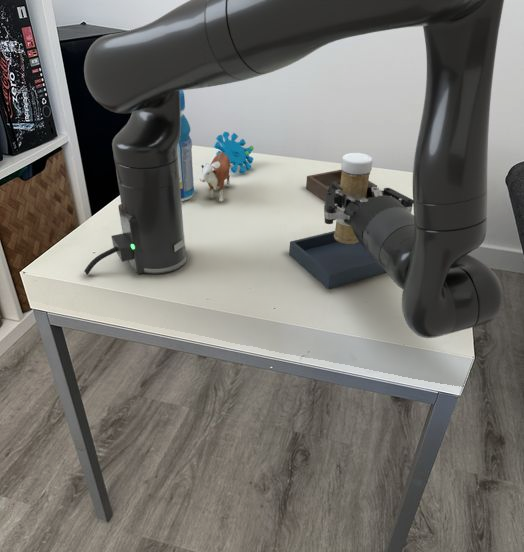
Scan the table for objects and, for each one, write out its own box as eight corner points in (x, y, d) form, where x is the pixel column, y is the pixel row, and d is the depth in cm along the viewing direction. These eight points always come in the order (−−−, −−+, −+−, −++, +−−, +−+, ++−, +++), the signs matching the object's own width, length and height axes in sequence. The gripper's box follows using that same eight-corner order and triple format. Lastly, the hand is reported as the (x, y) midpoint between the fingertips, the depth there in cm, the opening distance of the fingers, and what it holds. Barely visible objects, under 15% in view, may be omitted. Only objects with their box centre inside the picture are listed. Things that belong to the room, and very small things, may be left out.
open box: (333, 207, 106) (334, 194, 104) (305, 188, 113) (306, 175, 111) (375, 198, 110) (377, 185, 108) (346, 180, 117) (347, 168, 115)
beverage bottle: (202, 197, 108) (196, 93, 95) (165, 206, 104) (154, 99, 91) (183, 184, 113) (175, 83, 101) (147, 192, 110) (134, 88, 97)
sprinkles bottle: (366, 241, 86) (379, 158, 77) (345, 247, 84) (356, 163, 75) (348, 230, 89) (359, 149, 80) (327, 236, 87) (336, 154, 78)
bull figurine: (197, 207, 104) (195, 167, 99) (216, 182, 114) (215, 144, 109) (219, 210, 104) (217, 169, 98) (236, 184, 114) (235, 146, 109)
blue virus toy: (229, 173, 114) (210, 131, 114) (215, 186, 119) (197, 146, 119) (264, 167, 121) (247, 128, 121) (250, 180, 126) (233, 142, 126)
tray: (328, 288, 82) (329, 275, 81) (289, 254, 91) (289, 241, 89) (398, 268, 88) (401, 255, 86) (355, 237, 96) (357, 225, 94)
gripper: (445, 203, 70) (391, 160, 82) (343, 212, 67) (305, 165, 80) (432, 254, 74) (384, 205, 87) (337, 264, 72) (302, 212, 85)
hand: (346, 186), depth 83 cm, fingers closed on sprinkles bottle, 4 cm apart
